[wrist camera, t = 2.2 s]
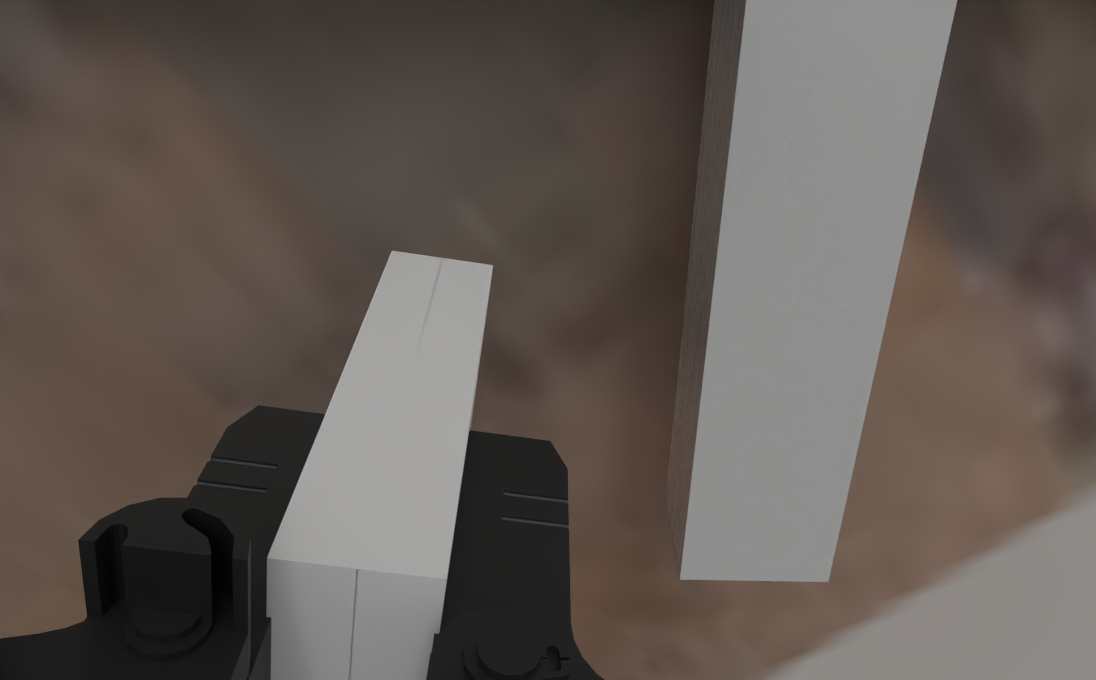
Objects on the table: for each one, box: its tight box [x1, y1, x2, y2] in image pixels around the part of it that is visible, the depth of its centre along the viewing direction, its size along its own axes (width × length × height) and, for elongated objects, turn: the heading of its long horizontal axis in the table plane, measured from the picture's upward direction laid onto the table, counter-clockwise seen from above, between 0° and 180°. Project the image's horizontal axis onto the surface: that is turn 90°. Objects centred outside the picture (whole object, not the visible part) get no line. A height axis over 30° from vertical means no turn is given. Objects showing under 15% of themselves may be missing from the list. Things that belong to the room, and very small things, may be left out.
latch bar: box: [666, 0, 957, 582], centre depth 14 cm, size 16×4×3 cm, turn 179°
